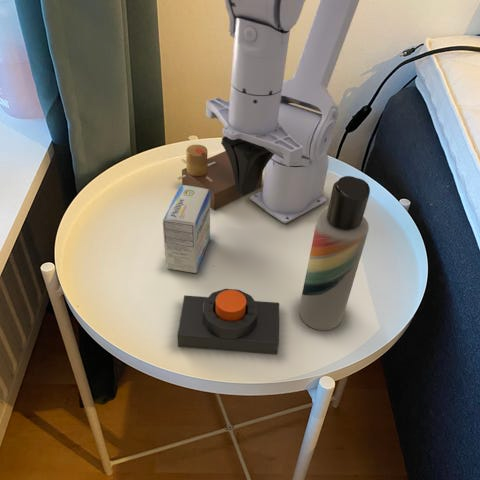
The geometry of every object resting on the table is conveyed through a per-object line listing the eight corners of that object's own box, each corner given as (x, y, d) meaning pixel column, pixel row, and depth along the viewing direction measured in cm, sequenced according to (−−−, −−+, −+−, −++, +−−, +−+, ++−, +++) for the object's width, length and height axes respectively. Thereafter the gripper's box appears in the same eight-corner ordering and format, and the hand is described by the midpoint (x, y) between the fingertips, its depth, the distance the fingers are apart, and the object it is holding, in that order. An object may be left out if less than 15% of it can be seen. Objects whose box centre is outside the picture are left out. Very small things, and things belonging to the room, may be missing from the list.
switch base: (177, 346, 66) (176, 325, 63) (184, 306, 71) (183, 284, 68) (276, 354, 66) (280, 333, 63) (277, 314, 71) (280, 292, 68)
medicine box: (196, 275, 75) (196, 224, 68) (165, 269, 75) (161, 218, 68) (210, 238, 80) (211, 188, 73) (180, 233, 80) (179, 182, 74)
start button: (214, 320, 65) (214, 310, 63) (216, 298, 67) (217, 288, 66) (244, 323, 65) (245, 313, 63) (246, 300, 67) (247, 290, 66)
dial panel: (221, 159, 94) (222, 142, 91) (261, 187, 89) (263, 170, 87) (164, 184, 88) (163, 167, 86) (204, 215, 83) (204, 198, 81)
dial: (182, 169, 86) (181, 147, 83) (198, 162, 87) (198, 140, 84) (195, 178, 84) (195, 156, 81) (211, 171, 86) (211, 149, 83)
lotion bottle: (320, 292, 74) (351, 162, 59) (351, 318, 71) (392, 188, 56) (289, 311, 71) (313, 179, 56) (319, 338, 68) (353, 208, 53)
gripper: (187, 68, 62) (185, 174, 72) (276, 120, 55) (262, 229, 65) (233, 56, 66) (226, 159, 75) (323, 103, 59) (302, 209, 68)
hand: (245, 190), depth 70 cm, fingers closed
